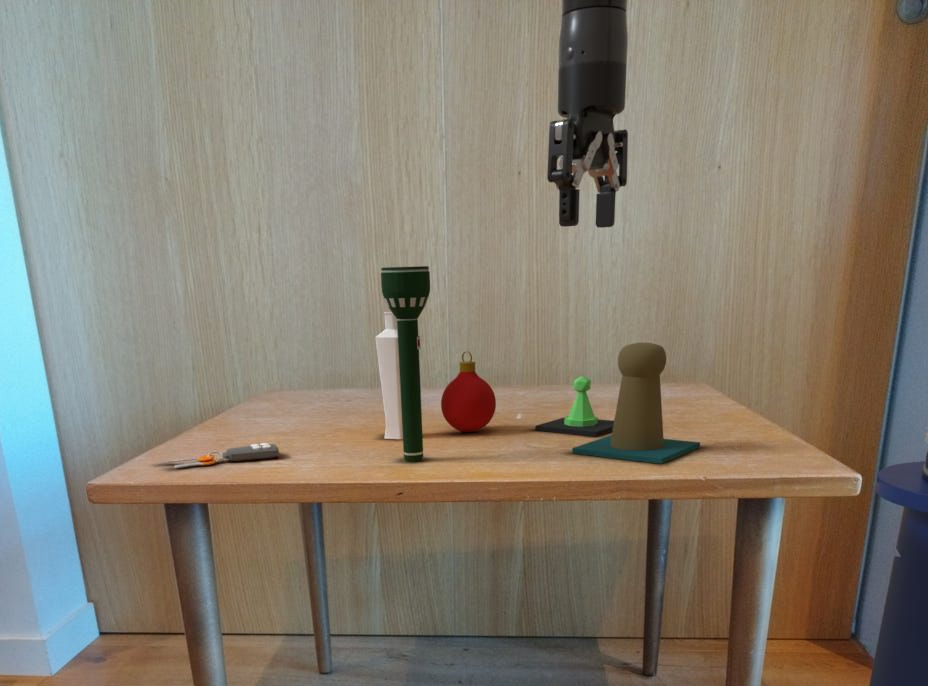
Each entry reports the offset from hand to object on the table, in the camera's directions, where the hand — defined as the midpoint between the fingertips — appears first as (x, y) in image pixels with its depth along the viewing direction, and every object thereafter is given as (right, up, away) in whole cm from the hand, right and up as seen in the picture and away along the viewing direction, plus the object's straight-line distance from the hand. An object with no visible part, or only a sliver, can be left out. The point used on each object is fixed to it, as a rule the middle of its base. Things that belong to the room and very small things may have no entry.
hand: (587, 226), depth 101 cm
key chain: (-43, -29, -3) cm, 52 cm away
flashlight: (-20, -29, -5) cm, 36 cm away
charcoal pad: (+1, -22, +10) cm, 24 cm away
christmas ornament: (-14, -22, +10) cm, 28 cm away
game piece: (+1, -21, +9) cm, 23 cm away
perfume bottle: (-23, -23, +8) cm, 34 cm away
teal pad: (+5, -28, -4) cm, 28 cm away
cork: (+5, -27, -4) cm, 28 cm away
